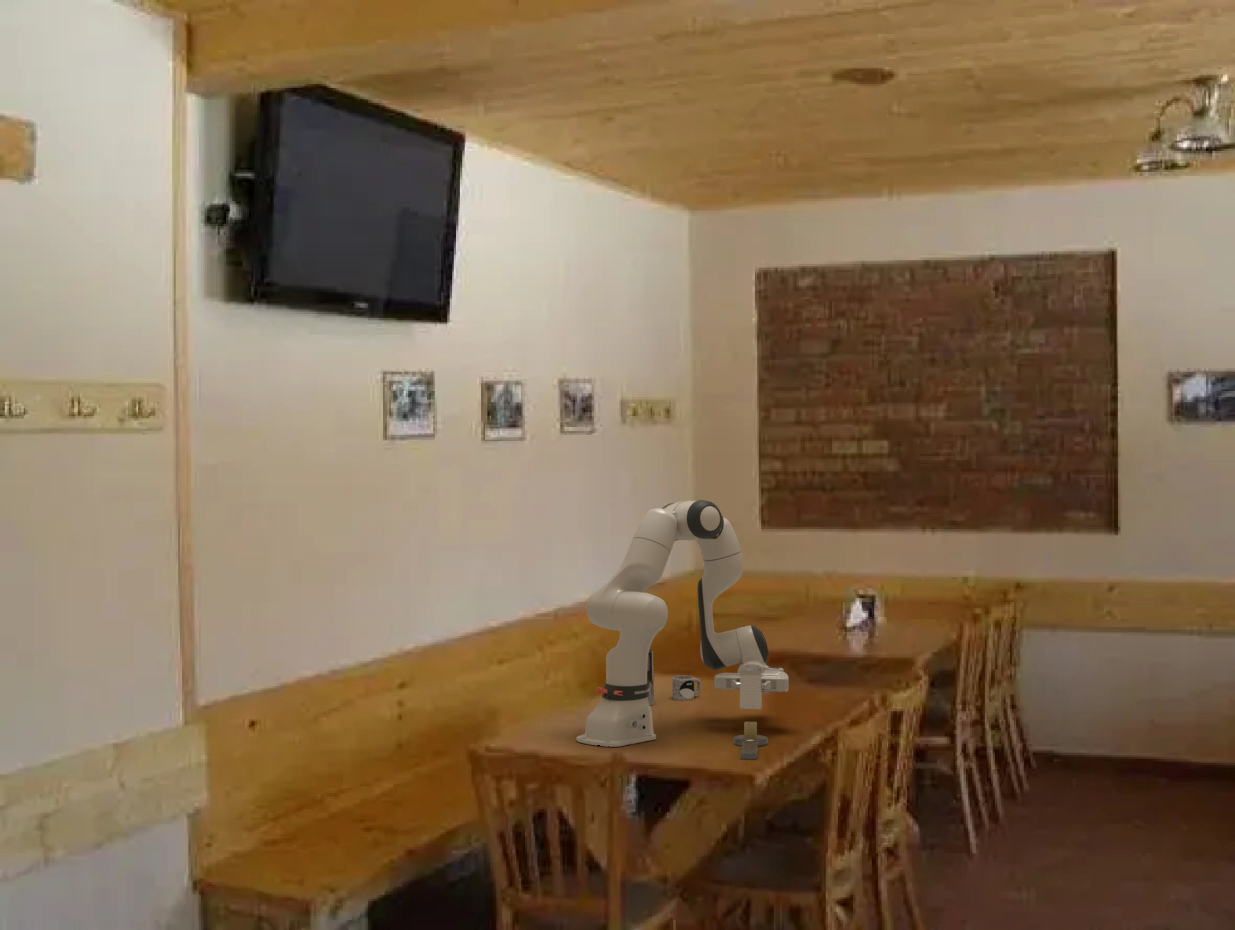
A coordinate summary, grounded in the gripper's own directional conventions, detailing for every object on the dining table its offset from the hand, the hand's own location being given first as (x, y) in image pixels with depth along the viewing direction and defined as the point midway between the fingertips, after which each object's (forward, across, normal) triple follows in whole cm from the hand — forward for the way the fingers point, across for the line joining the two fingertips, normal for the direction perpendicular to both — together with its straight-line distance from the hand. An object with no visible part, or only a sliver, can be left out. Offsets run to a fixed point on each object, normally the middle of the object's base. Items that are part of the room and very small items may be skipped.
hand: (750, 686), depth 407 cm
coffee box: (-45, -35, +14) cm, 58 cm away
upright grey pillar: (-1, 0, +6) cm, 6 cm away
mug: (-55, -21, +13) cm, 60 cm away
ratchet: (+16, 0, +14) cm, 21 cm away
